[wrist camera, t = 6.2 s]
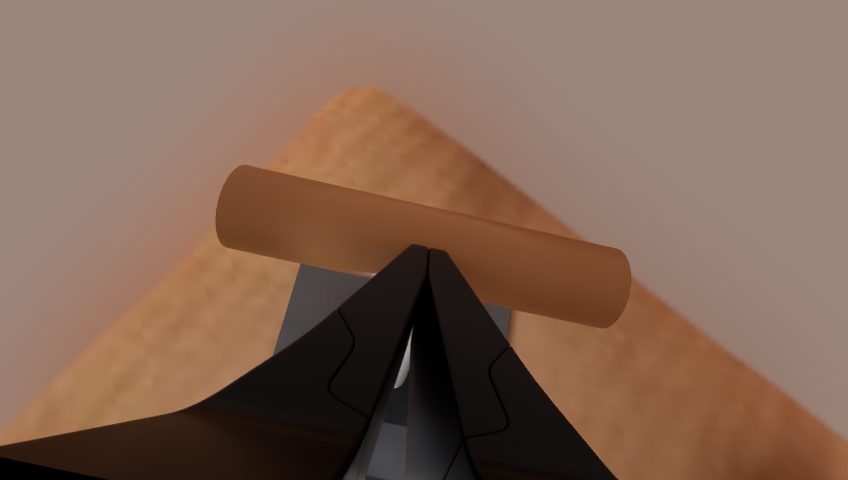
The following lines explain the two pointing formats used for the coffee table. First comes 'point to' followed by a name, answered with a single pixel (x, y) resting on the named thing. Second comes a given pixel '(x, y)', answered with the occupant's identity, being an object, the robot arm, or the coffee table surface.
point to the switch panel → (317, 308)
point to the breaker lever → (423, 225)
